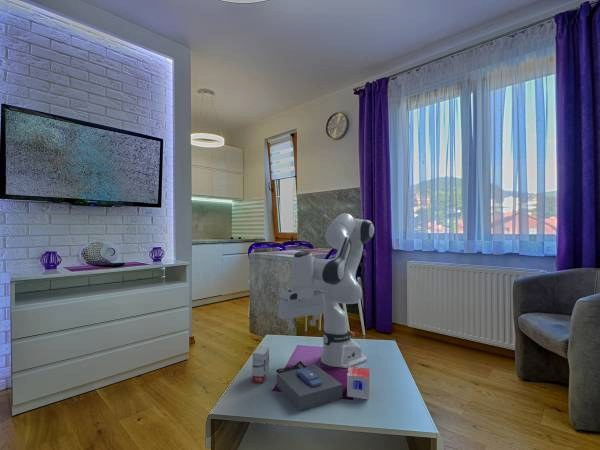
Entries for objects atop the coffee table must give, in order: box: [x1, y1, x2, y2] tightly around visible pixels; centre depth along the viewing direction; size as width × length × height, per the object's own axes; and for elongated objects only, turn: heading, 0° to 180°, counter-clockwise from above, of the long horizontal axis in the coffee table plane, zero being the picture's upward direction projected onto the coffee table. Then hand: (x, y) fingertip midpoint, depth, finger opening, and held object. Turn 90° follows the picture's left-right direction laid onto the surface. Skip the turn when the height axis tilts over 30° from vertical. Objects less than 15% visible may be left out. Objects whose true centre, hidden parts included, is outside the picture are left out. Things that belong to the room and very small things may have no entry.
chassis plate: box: [276, 364, 343, 412], centre depth 120 cm, size 18×19×5 cm
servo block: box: [296, 368, 322, 387], centre depth 120 cm, size 4×13×8 cm, turn 29°
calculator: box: [276, 360, 307, 374], centre depth 135 cm, size 9×12×3 cm
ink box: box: [251, 345, 270, 384], centre depth 131 cm, size 9×5×12 cm, turn 168°
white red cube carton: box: [346, 366, 370, 400], centre depth 120 cm, size 8×8×8 cm
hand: (302, 327), depth 124 cm, fingers open, 8 cm apart
